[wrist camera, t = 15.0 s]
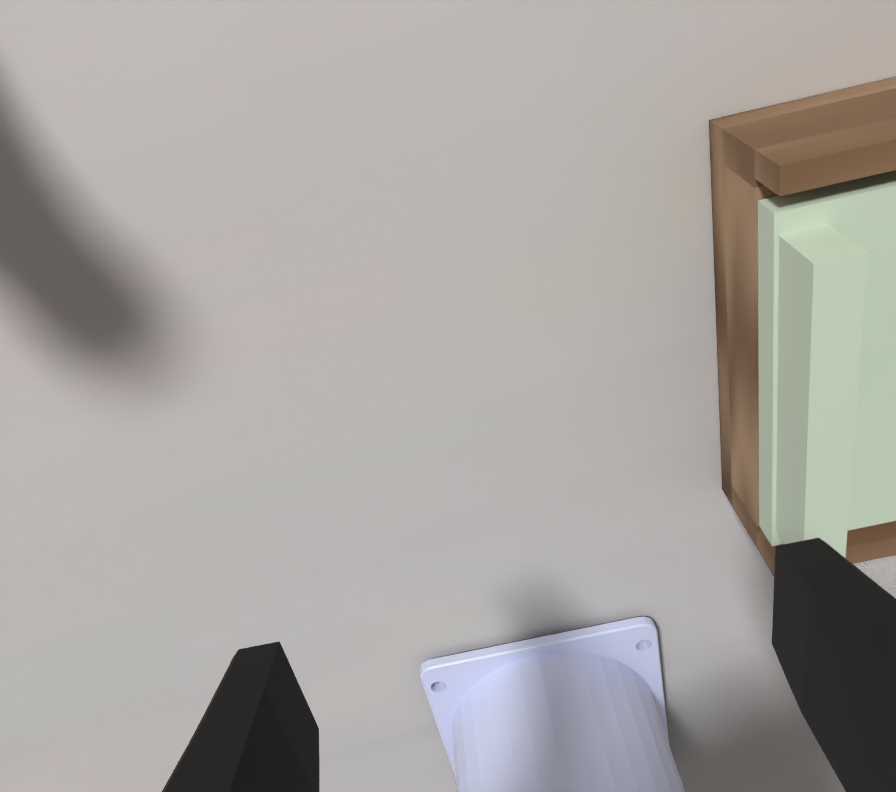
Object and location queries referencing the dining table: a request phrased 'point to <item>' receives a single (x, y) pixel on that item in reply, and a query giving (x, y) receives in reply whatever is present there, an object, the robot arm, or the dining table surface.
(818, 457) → the sage lid
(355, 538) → the dining table surface
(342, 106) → the dining table surface
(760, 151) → the walnut box
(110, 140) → the dining table surface
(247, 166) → the dining table surface
